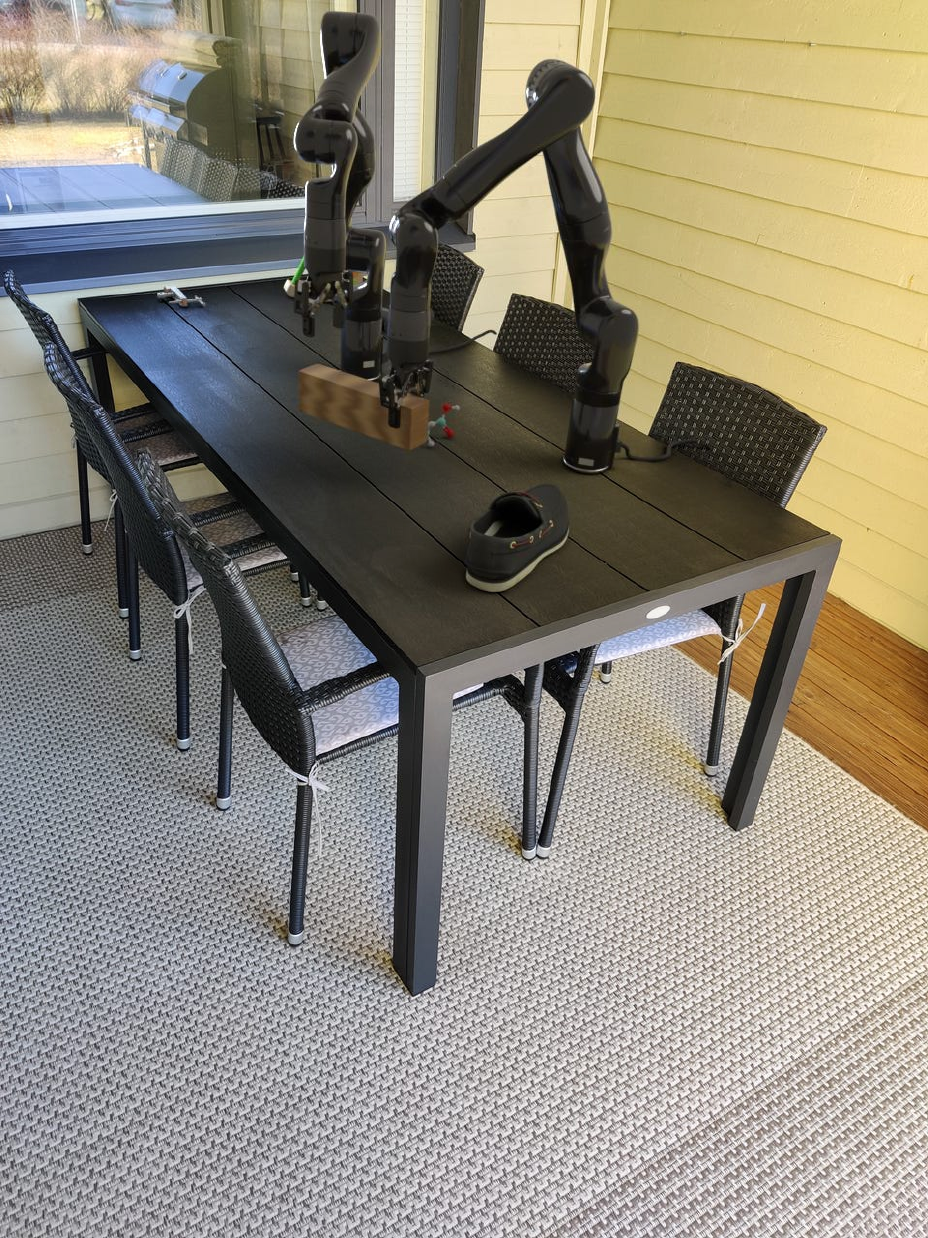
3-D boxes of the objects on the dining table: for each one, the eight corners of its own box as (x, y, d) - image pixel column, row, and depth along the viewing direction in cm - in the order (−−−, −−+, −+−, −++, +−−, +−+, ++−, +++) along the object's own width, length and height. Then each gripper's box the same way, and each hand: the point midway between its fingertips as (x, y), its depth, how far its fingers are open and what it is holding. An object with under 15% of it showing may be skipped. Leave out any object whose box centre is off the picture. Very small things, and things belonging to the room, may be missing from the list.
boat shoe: (593, 526, 180) (600, 474, 174) (502, 598, 156) (507, 541, 151) (532, 507, 186) (537, 456, 180) (435, 574, 162) (438, 517, 156)
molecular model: (451, 439, 197) (435, 390, 196) (410, 454, 201) (394, 406, 199) (469, 435, 207) (454, 389, 206) (430, 449, 211) (415, 404, 210)
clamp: (153, 286, 267) (189, 284, 272) (153, 294, 268) (189, 292, 273) (168, 303, 257) (206, 300, 261) (169, 311, 258) (206, 308, 263)
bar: (299, 411, 191) (298, 370, 186) (317, 403, 195) (317, 363, 190) (409, 450, 180) (411, 408, 175) (427, 441, 184) (429, 400, 179)
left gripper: (315, 251, 170) (314, 344, 178) (365, 241, 180) (363, 329, 189) (282, 243, 173) (283, 334, 182) (334, 233, 183) (332, 320, 192)
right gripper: (401, 347, 165) (397, 439, 174) (449, 327, 175) (442, 416, 185) (366, 336, 168) (364, 428, 178) (415, 318, 178) (410, 405, 188)
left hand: (324, 331), depth 185 cm, fingers open, 8 cm apart
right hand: (404, 421), depth 181 cm, fingers closed on bar, 5 cm apart
